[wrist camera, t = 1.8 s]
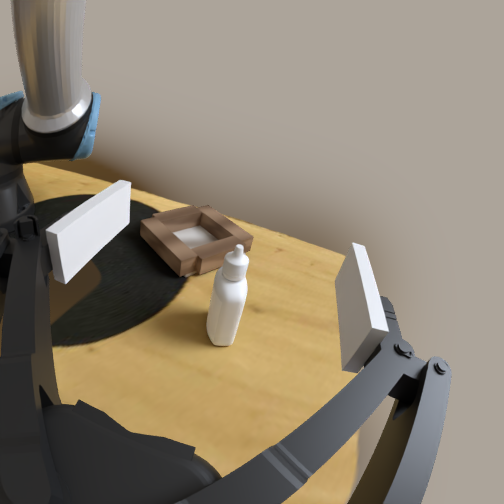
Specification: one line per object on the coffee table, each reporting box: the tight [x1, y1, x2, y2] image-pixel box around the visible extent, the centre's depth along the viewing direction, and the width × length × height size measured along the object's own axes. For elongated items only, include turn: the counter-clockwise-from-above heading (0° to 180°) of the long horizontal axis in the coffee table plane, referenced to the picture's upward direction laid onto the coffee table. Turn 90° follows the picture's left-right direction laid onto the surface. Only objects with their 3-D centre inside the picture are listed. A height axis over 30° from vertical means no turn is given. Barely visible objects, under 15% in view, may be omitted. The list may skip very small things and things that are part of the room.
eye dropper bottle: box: [206, 244, 249, 346], centre depth 32 cm, size 4×6×12 cm
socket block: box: [140, 205, 253, 277], centre depth 47 cm, size 14×14×3 cm
